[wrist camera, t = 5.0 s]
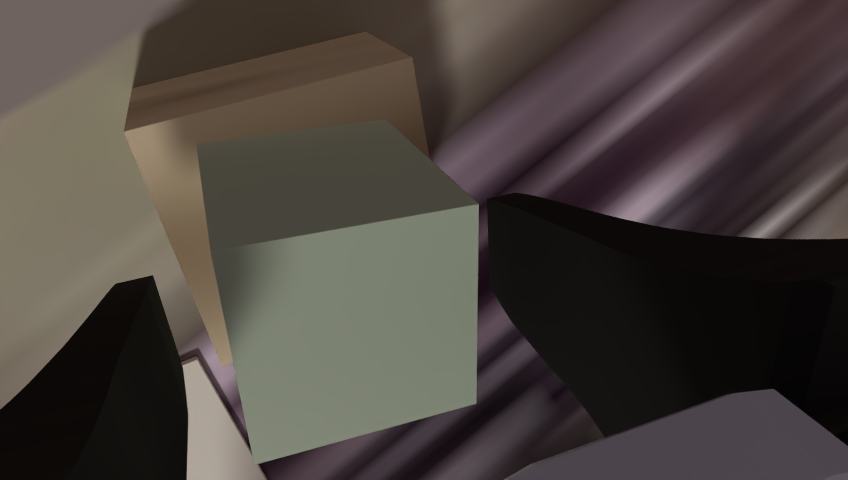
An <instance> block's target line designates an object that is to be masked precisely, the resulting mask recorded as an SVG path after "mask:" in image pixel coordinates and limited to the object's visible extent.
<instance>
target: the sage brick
mask: <svg viewBox="0 0 848 480" xmlns="http://www.w3.org/2000/svg"><path fill="white" fill-rule="evenodd" d="M196 147H197V155H198V162H199V169H200V177H201V184H202V192H203V199H204V207H205V214H206V222H207V229H208V237H209V244H210V252H211V257H212V261H213V266H214V271H215V276H216V281H217V286H218V291H219V296H220V300H221V305H222V310H223V315H224V320H225V325H226V330H227V335H228V339H229V344H230V349H231V354H232V359H233V364H234V369H235V374H236V378H237V383H238V388H239V393H240V398H241V403H242V408H243V413H244V417H245V422H246V427H247V432H248V437H249V442H250V447H251V451H252V456H253V461H254V465H256V464H260V463H263V462H267V461H271V460H274V459H278V458H281V457H285V456H289V455H292V454H296V453H300V452H303V451H307V450H310V449H314V448H318V447H321V446H325V445H329V444H332V443H336V442H339V441H343V440H347V439H350V438H354V437H358V436H361V435H365V434H368V433H372V432H376V431H379V430H383V429H387V428H390V427H394V426H397V425H401V424H405V423H408V422H412V421H416V420H419V419H423V418H426V417H430V416H434V415H437V414H441V413H445V412H448V411H452V410H455V409H459V408H463V407H466V406H470V405H474V404H476V393H477V312H478V232H479V204H478V203H477V202H476V201H475V200H474V199H473V198H472V197H471V196H469V195H468V194H467V193H466V192H465V191H464V190H463V189H462V188H461V187H460V186H458V185H457V184H456V183H455V182H454V181H453V180H452V179H451V178H450V177H449V176H448V175H446V174H445V173H444V172H443V171H442V170H441V169H440V168H439V167H438V166H437V165H435V164H434V163H433V162H432V161H431V160H430V159H429V158H428V157H427V156H426V155H424V154H423V153H422V152H421V151H420V150H419V149H418V148H417V147H416V146H415V145H414V144H412V143H411V142H410V141H409V140H408V139H407V138H406V137H405V136H404V135H403V134H401V133H400V132H399V131H398V130H397V129H396V128H395V127H394V126H393V125H392V124H390V123H389V122H388V121H387V120H386V119H381V120H374V121H366V122H358V123H350V124H343V125H335V126H327V127H320V128H312V129H304V130H296V131H289V132H281V133H273V134H266V135H258V136H250V137H243V138H235V139H227V140H219V141H212V142H204V143H196Z"/></svg>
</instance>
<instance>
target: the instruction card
mask: <svg viewBox="0 0 848 480" xmlns="http://www.w3.org/2000/svg"><path fill="white" fill-rule="evenodd" d="M181 364H182V367H183V372H184V380H185V389H186V397H187V407H188V451H187V480H267V478H266V476H265V474H264V473H263V471H262V469H261V467H260V466H259V464H256V465H254V461H253V456H252V452H251V450H250V448H249V446H248V445H247V443H246V441H245V439H244V438H243V436H242V434H241V432H240V431H239V429H238V427H237V425H236V424H235V422H234V420H233V418H232V417H231V415H230V413H229V411H228V410H227V408H226V406H225V404H224V403H223V401H222V399H221V397H220V396H219V394H218V392H217V390H216V389H215V387H214V385H213V383H212V382H211V380H210V378H209V376H208V375H207V373H206V371H205V369H204V368H203V366H202V364H201V362H200V361H199V359H198V357H197V356H195V357H192V358H190V359H188V360H185V361H183V362H181Z"/></svg>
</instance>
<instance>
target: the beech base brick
mask: <svg viewBox="0 0 848 480" xmlns="http://www.w3.org/2000/svg"><path fill="white" fill-rule="evenodd" d="M381 119H386V120H387V121H388V122H389V123H390V124H392V125H393V126H394V127H395V128H396V129H397V130H398V131H399V132H400V133H401V134H403V135H404V136H405V137H406V138H407V139H408V140H409V141H410V142H411V143H412V144H414V145H415V146H416V147H417V148H418V149H419V150H420V151H421V152H422V153H423V154H424V155H426V156H427V157H428V158H429V159H430V157H429V151H428V145H427V139H426V134H425V128H424V122H423V116H422V110H421V104H420V98H419V93H418V87H417V81H416V75H415V69H414V63H413V58H412V57H411V56H409V55H408V54H406V53H404V52H402V51H400V50H399V49H397V48H395V47H393V46H391V45H390V44H388V43H386V42H384V41H382V40H381V39H379V38H377V37H375V36H373V35H372V34H370V33H368V32H366V31H365V32H361V33H356V34H352V35H348V36H344V37H340V38H336V39H332V40H328V41H324V42H320V43H315V44H311V45H307V46H303V47H299V48H295V49H291V50H287V51H283V52H279V53H274V54H270V55H266V56H262V57H258V58H254V59H250V60H246V61H242V62H238V63H233V64H229V65H225V66H221V67H217V68H213V69H209V70H205V71H201V72H197V73H192V74H188V75H184V76H180V77H176V78H172V79H168V80H164V81H160V82H156V83H151V84H147V85H143V86H139V87H135V88H132V92H131V97H130V102H129V107H128V113H127V118H126V123H125V128H124V133H125V136H126V138H127V140H128V143H129V145H130V147H131V150H132V152H133V155H134V157H135V159H136V162H137V164H138V167H139V169H140V171H141V174H142V176H143V179H144V181H145V183H146V186H147V188H148V190H149V193H150V195H151V198H152V200H153V202H154V205H155V207H156V210H157V212H158V214H159V217H160V219H161V221H162V224H163V226H164V229H165V231H166V233H167V236H168V238H169V241H170V243H171V245H172V248H173V250H174V253H175V255H176V257H177V260H178V262H179V264H180V267H181V269H182V272H183V274H184V276H185V279H186V281H187V284H188V286H189V288H190V291H191V293H192V295H193V298H194V300H195V303H196V305H197V307H198V310H199V312H200V315H201V317H202V319H203V322H204V324H205V326H206V329H207V331H208V334H209V336H210V338H211V341H212V343H213V346H214V348H215V350H216V353H217V355H218V358H219V360H220V362H221V365H222V366H225V365H228V364H231V363H233V359H232V354H231V349H230V344H229V339H228V335H227V330H226V325H225V320H224V315H223V310H222V305H221V300H220V296H219V291H218V286H217V281H216V276H215V271H214V266H213V261H212V257H211V252H210V244H209V237H208V229H207V222H206V214H205V207H204V199H203V192H202V184H201V177H200V169H199V162H198V155H197V147H196V143H204V142H212V141H219V140H227V139H235V138H243V137H250V136H258V135H266V134H273V133H281V132H289V131H296V130H304V129H312V128H320V127H327V126H335V125H343V124H350V123H358V122H366V121H374V120H381Z"/></svg>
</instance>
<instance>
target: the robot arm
mask: <svg viewBox="0 0 848 480" xmlns="http://www.w3.org/2000/svg"><path fill="white" fill-rule="evenodd" d="M487 212H488V241H489V271H490V287H491V289H492V290H493V292H494V294H495V295H496V297H497V299H498V300H499V302H500V304H501V306H502V307H503V309H504V310H505V312H506V313H507V315H508V317H509V318H510V320H511V321H512V323H513V324H514V325H515V326H516V327H517V329H518V330H519V331H520V332H521V334H522V335H523V336H524V337H525V338H526V339H527V341H528V342H529V343H530V344H531V345H532V347H533V348H534V349H535V350H536V351H537V352H538V354H539V355H540V356H541V357H542V358H543V359H544V361H545V362H546V363H547V364H548V365H549V366H550V367H551V369H552V370H553V371H554V372H555V373H556V374H557V376H558V377H559V378H560V379H561V380H562V381H563V383H564V384H565V385H566V386H567V387H568V388H569V389H570V391H571V392H572V393H573V394H574V395H575V397H576V398H577V399H578V400H579V402H580V403H581V404H582V406H583V407H584V408H585V409H586V411H587V412H588V413H589V415H590V416H591V418H592V419H593V421H594V422H595V424H596V425H597V427H598V428H599V429H600V431H601V432H602V434H603V435H604V437H605V438H603V439H600V440H597V441H595V442H592V443H589V444H586V445H583V446H580V447H578V448H575V449H572V450H569V451H566V452H564V453H561V454H558V455H555V456H552V457H550V458H547V459H544V460H541V461H538V462H536V463H533V464H531V465H529V466H527V467H525V468H524V469H522V470H520V471H518V472H516V473H515V474H513V475H511V476H509V477H508V478H506V479H504V480H848V239H762V238H748V237H734V236H721V235H712V234H703V233H696V232H689V231H682V230H675V229H669V228H663V227H658V226H652V225H648V224H643V223H639V222H634V221H629V220H625V219H621V218H617V217H612V216H608V215H604V214H601V213H597V212H593V211H589V210H586V209H582V208H578V207H575V206H571V205H567V204H564V203H560V202H556V201H553V200H549V199H545V198H541V197H537V196H532V195H527V194H520V193H512V194H507V195H503V196H499V197H494V198H490V199H487ZM187 451H188V407H187V397H186V389H185V380H184V372H183V367H182V364H181V361H180V357H179V354H178V351H177V348H176V345H175V342H174V339H173V336H172V333H171V330H170V327H169V324H168V320H167V317H166V314H165V311H164V308H163V305H162V302H161V299H160V296H159V293H158V290H157V287H156V283H155V280H154V277H153V275H152V276H148V277H143V278H139V279H135V280H130V281H126V282H121V283H117V284H115V285H114V286H113V287H112V288H111V289H110V291H109V292H108V293H107V294H106V295H105V297H104V298H103V299H102V300H101V302H100V303H99V304H98V305H97V307H96V308H95V309H94V310H93V312H92V313H91V314H90V315H89V317H88V318H87V319H86V320H85V321H84V323H83V324H82V325H81V326H80V327H79V329H78V330H77V331H76V332H75V333H74V335H73V336H72V337H71V338H70V339H69V341H68V342H67V343H66V344H65V345H64V346H63V347H62V349H61V350H60V351H59V352H58V353H57V354H56V355H55V356H54V357H53V358H52V359H51V360H50V361H49V362H48V363H47V364H46V366H45V367H44V368H43V369H42V370H41V371H40V372H39V373H38V374H37V375H36V376H35V377H34V378H33V379H32V380H31V381H30V383H29V384H27V385H26V386H25V387H24V388H23V389H22V390H21V391H20V392H19V393H18V394H17V395H16V396H15V397H14V398H13V399H12V400H11V401H10V402H8V403H7V404H6V405H5V406H4V407H3V408H2V409H0V480H187Z"/></svg>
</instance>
